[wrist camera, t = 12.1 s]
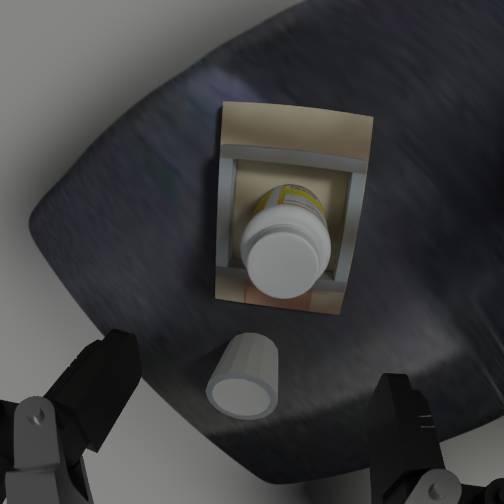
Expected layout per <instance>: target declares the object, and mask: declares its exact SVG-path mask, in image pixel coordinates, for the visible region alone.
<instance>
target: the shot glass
mask: <svg viewBox="0 0 504 504" xmlns="http://www.w3.org/2000/svg"><path fill="white" fill-rule="evenodd" d="M206 394H207V398H208V400H209V401H210V403H211V404H212V405H213V406H214V407H215V408H216V409H217V410H219V411H221V412H222V413H224V414H225V415H228V416H231V417H234V418H238V419H248V420H253V419H258V418H263V417H265V416H267V415H269V414H270V413H272V412H273V411H274V409H275V408H276V406H277V404H278V349H277V347H276V346H275V344H274V342H272V341H271V340H270V339H268V338H267V337H266V336H263V335H260V334H257V333H243V334H240V335H237V336H235V337H234V338H233V339H232V340H231V341H230V342H229V344H228V346H227V348H226V350H225V352H224V354H223V355H222V357H221V359H220V361H219V363H218V365H217V367H216V369H215V371H214V372H213V374H212V376H211V378H210V380H209V382H208V385H207V388H206Z"/></svg>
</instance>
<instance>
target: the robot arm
mask: <svg viewBox="0 0 504 504" xmlns="http://www.w3.org/2000/svg"><path fill="white" fill-rule="evenodd" d="M141 374H142V366H141V361H140V355H139V350H138V345H137V339H136V336H135V335H134V334H132V333H128V332H124V331H121V330H117V329H112V330H111V331H110V332H109V333H108V334H107V335H106V336H105V338H104V339H103V340H102V341H101V340H96V341H94V342H93V343H91V344H89V345H88V346H86V347H85V348H84V349H83V350H82V351H81V352H80V354H79V355H78V356H77V359H74V361H73V362H72V363H71V364H70V367H68V368H67V369H66V370H65V371H64V372H63V374H62V375H61V376H60V377H59V378H58V379H57V381H56V382H55V383H54V384H53V386H52V387H51V388H50V389H49V391H48V392H47V393H46V394H45V395H44V396H43V397H39V396H33V397H29V398H27V399H25V400H23V401H22V402H21V403H14V402H9V401H4V400H0V504H3V502H4V500H5V498H7V504H94V502H93V499H92V495H91V491H90V487H89V483H88V478H87V474H86V469H85V465H84V460H83V456H82V454H83V452H84V450H85V449H86V448H87V449H89V450H92V451H94V452H96V453H98V451H99V449H100V447H101V445H102V444H103V442H104V441H105V439H106V437H107V435H108V434H109V432H110V430H111V428H112V427H113V425H114V424H115V422H116V420H117V419H118V417H119V415H120V414H121V412H122V410H123V408H124V407H125V405H126V403H127V402H128V400H129V398H130V397H131V395H132V393H133V392H134V390H135V389H136V387H137V385H138V383H139V381H140V378H141ZM366 428H367V439H368V451H369V464H370V479H371V500H372V504H504V478H499V479H496V480H494V481H492V482H491V483H490V484H489V485H488V486H486V487H480V486H472V485H465V484H461V483H460V481H459V479H458V478H457V477H456V475H454V474H453V473H452V472H450V471H448V470H446V468H445V465H444V461H443V457H442V453H441V449H440V445H439V441H438V437H437V433H436V429H435V428H434V422H433V418H432V417H431V411H430V408H429V404H428V401H427V400H426V399H425V398H424V396H423V395H422V394H421V392H420V391H419V390H412V389H411V385H410V382H409V378H408V376H407V375H406V374H393V373H384V374H383V375H382V376H381V378H380V380H379V382H378V385H377V387H376V389H375V391H374V393H373V396H372V398H371V400H370V402H369V404H368V407H367V412H366Z"/></svg>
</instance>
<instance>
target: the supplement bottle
mask: <svg viewBox="0 0 504 504" xmlns="http://www.w3.org/2000/svg"><path fill="white" fill-rule="evenodd" d="M240 250H241V257H242V260H243V263H244V265H245V267H246V269H247V271H248V275H249V277H250V279H251V281H252V283H253V284H254V285H255V286H256V287H257V288H258V289H259V290H260V291H261V292H263V293H264V294H266V295H268V296H271V297H274V298H280V299H289V298H294V297H297V296H299V295H302V294H303V293H305V292H306V291H308V290H309V289H310V288H311V287H312V286H313V284H314V283H315V281H316V280H317V279H318V278H319V277H320V276H321V275H322V274H323V272H324V271H325V269H326V267H327V265H328V263H329V259H330V255H331V242H330V237H329V233H328V228H327V223H326V220H325V215H324V211H323V207H322V205H321V203H320V201H319V200H318V198H317V197H316V196H315V195H314V194H313V193H312V192H311V191H310V190H308V189H307V188H305V187H302V186H300V185H295V184H284V185H280V186H277V187H275V188H273V189H271V190H270V191H268V192H267V193H266V194H265V195H264V196H263V198H262V199H261V201H260V202H259V204H258V206H257V208H256V209H255V211H254V213H253V215H252V217H251V218H250V220H249V222H248V224H247V225H246V227H245V230H244V232H243V234H242V238H241V244H240Z"/></svg>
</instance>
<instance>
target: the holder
mask: <svg viewBox="0 0 504 504" xmlns="http://www.w3.org/2000/svg"><path fill="white" fill-rule="evenodd" d="M372 126H373V117H369V116H363V115H357V114H351V113H345V112H338V111H331V110H324V109H316V108H308V107H299V106H289V105H277V104H264V103H247V102H223V113H222V129H221V145H220V163H219V184H218V209H217V238H216V282H215V298H216V299H223V300H229V301H236V302H243V303H250V304H257V305H264V306H271V307H278V308H286V309H294V310H302V311H310V312H318V313H327V314H336V315H340V311H341V307H342V302H343V298H344V294H345V289H346V285H347V280H348V276H349V271H350V266H351V262H352V257H353V252H354V247H355V242H356V236H357V231H358V225H359V220H360V214H361V208H362V202H363V196H364V189H365V182H366V175H367V168H368V161H369V153H370V144H371V136H372ZM284 184H295V185H300V186H302V187H305V188H307V189H308V190H310V191H311V192H312V193H313V194H314V195H315V196H316V197H317V198H318V200H319V201H320V203H321V205H322V207H323V211H324V215H325V220H326V223H327V228H328V233H329V237H330V242H331V255H330V259H329V263H328V265H327V267H326V269H325V271H324V272H323V274H322V275H321V276H320V277H319V278H318V279H317V280H316V281H315V283H314V284H313V286H312V287H311V288H310V289H309V290H308V291H306V292H305V293H303V294H302V295H299V296H297V297H294V298H289V299H280V298H274V297H271V296H268V295H266V294H264V293H263V292H261V291H260V290H259V289H258V288H257V287H256V286H255V285H254V284H253V283H252V281H251V279H250V277H249V275H248V271H247V269H246V267H245V265H244V263H243V260H242V257H241V250H240V244H241V238H242V234H243V232H244V230H245V227H246V225H247V224H248V222H249V220H250V218H251V217H252V215H253V213H254V211H255V209H256V208H257V206H258V204H259V202H260V201H261V199H262V198H263V196H264V195H265V194H266V193H267V192H268V191H270V190H271V189H273V188H275V187H277V186H280V185H284Z"/></svg>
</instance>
